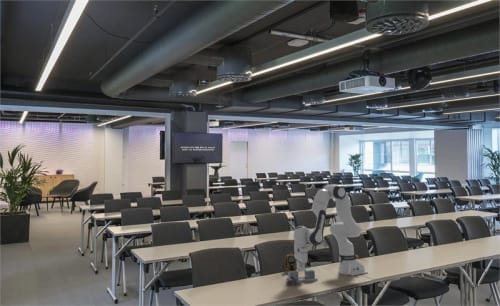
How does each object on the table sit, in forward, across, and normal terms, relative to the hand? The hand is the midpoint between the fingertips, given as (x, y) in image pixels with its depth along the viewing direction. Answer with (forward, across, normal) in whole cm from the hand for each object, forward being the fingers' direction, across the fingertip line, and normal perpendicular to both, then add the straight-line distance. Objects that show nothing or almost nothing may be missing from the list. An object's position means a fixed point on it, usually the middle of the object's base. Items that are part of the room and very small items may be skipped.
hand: (300, 266), depth 289 cm
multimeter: (+10, -26, +2) cm, 28 cm away
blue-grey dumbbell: (+10, 0, 0) cm, 10 cm away
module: (+3, 0, 0) cm, 3 cm away
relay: (+10, +6, -9) cm, 15 cm away
